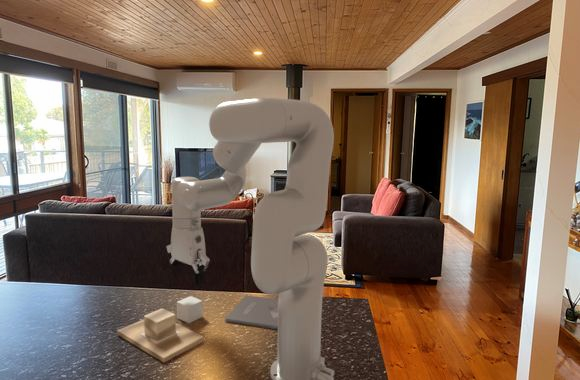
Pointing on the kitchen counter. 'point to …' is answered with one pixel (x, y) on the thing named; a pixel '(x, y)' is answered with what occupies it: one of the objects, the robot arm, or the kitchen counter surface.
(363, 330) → the kitchen counter surface
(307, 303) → the robot arm
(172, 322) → the maple block
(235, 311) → the play button award
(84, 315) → the kitchen counter surface
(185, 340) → the base board
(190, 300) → the white cube
